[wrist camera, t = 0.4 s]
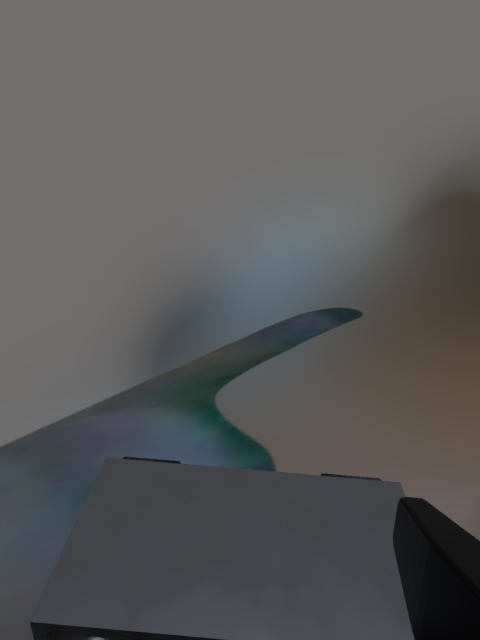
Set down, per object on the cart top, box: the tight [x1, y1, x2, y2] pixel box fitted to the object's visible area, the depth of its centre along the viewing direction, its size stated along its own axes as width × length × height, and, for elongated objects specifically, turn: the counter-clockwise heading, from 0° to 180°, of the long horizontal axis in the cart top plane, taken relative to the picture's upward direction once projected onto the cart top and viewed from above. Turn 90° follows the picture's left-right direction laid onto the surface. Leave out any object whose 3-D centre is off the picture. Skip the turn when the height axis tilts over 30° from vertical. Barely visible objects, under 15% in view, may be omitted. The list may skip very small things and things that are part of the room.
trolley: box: [30, 457, 415, 640], centre depth 20 cm, size 13×15×6 cm
